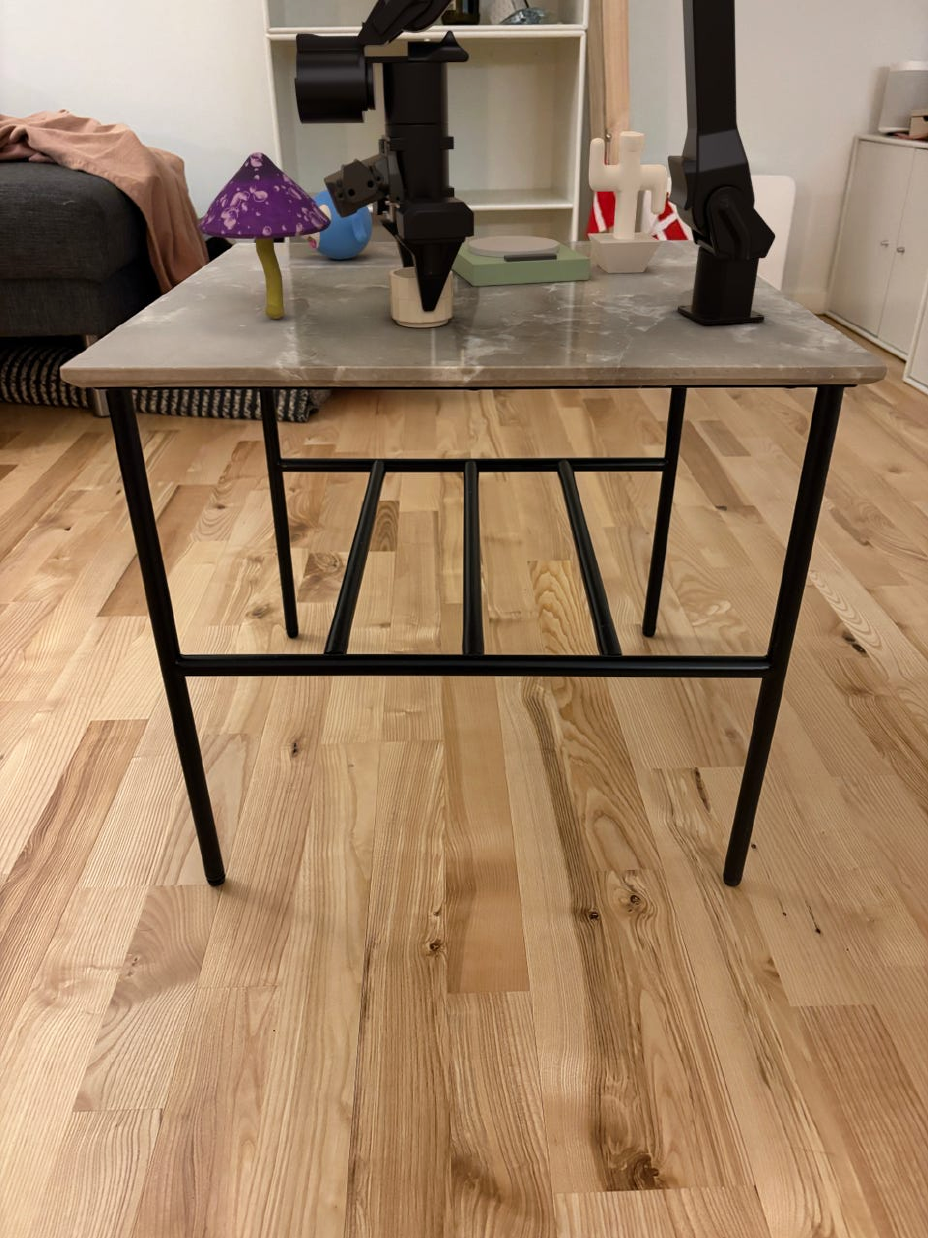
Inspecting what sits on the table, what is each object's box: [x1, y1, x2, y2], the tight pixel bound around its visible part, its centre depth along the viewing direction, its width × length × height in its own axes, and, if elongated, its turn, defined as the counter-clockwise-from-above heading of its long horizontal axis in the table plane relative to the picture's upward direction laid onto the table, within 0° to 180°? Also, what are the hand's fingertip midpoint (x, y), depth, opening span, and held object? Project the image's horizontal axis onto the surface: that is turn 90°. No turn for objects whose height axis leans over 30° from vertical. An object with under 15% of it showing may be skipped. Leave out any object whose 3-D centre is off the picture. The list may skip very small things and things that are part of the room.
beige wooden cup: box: [388, 267, 454, 328], centre depth 90 cm, size 6×6×5 cm
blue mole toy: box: [298, 189, 373, 260], centre depth 118 cm, size 12×12×8 cm
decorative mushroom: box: [197, 151, 331, 320], centre depth 88 cm, size 12×12×15 cm
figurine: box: [587, 130, 669, 274], centre depth 109 cm, size 7×9×15 cm
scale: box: [451, 235, 591, 287], centre depth 112 cm, size 14×14×3 cm
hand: (421, 303), depth 90 cm, fingers closed on beige wooden cup, 6 cm apart
